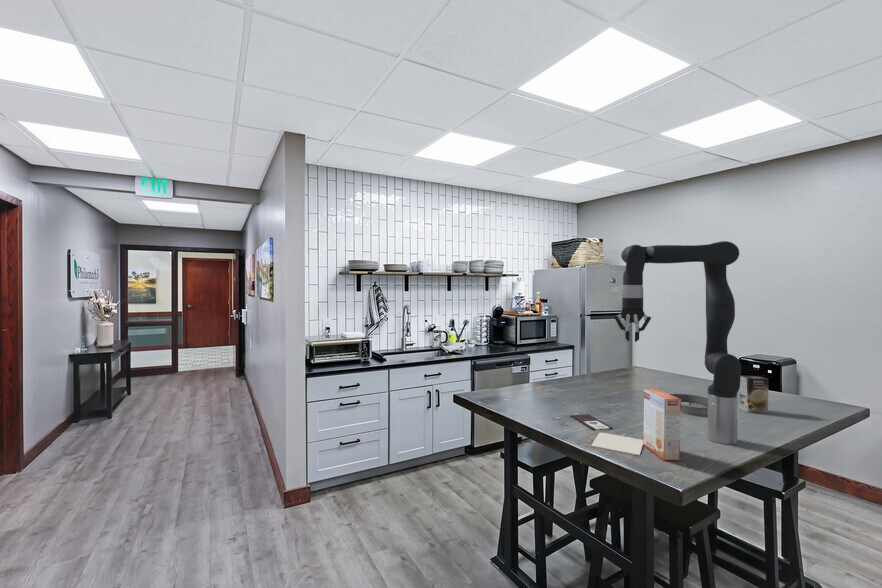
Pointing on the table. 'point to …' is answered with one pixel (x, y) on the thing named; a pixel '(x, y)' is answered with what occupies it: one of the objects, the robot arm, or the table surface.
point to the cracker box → (662, 424)
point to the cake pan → (693, 399)
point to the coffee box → (754, 394)
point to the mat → (618, 443)
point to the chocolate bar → (591, 422)
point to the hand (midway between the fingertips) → (632, 341)
